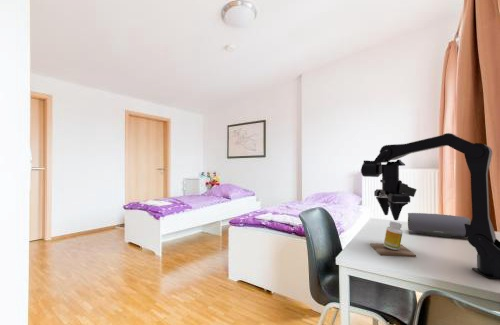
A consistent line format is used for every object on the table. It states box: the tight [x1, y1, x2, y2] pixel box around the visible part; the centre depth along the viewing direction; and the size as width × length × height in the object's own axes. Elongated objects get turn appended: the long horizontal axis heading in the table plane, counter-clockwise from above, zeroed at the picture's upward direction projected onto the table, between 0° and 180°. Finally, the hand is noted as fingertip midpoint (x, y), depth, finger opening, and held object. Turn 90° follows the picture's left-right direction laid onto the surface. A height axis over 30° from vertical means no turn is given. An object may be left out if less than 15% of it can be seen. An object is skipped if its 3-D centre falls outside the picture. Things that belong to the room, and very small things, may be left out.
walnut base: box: [369, 242, 417, 258], centre depth 94 cm, size 12×12×2 cm
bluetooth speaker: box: [407, 212, 471, 238], centre depth 113 cm, size 23×9×10 cm, turn 59°
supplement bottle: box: [383, 221, 403, 250], centre depth 94 cm, size 5×5×10 cm
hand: (390, 217), depth 95 cm, fingers open, 9 cm apart
